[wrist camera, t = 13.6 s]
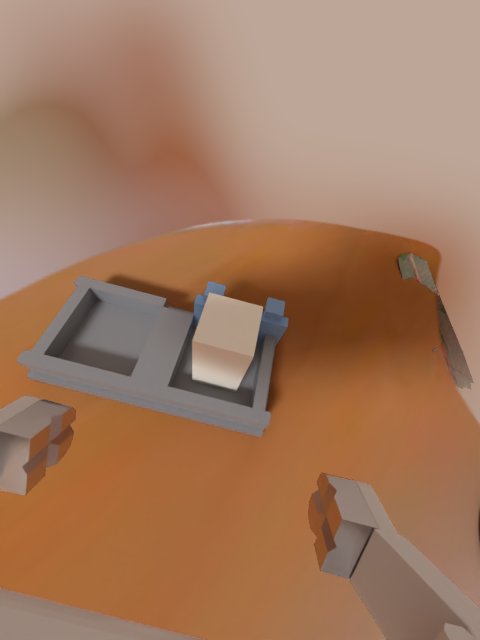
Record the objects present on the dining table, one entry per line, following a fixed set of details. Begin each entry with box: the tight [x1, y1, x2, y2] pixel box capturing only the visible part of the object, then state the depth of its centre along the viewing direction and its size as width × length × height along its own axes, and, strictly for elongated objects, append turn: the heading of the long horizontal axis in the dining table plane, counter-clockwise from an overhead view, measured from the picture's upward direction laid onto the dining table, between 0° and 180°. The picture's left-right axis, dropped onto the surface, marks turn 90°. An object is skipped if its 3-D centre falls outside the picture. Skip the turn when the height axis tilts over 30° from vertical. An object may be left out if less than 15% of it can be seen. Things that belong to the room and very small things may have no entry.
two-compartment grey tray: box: [16, 276, 289, 437], centre depth 22 cm, size 20×11×6 cm, turn 78°
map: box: [398, 252, 474, 389], centre depth 33 cm, size 5×20×1 cm, turn 176°
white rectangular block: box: [192, 292, 263, 392], centre depth 21 cm, size 4×4×8 cm
